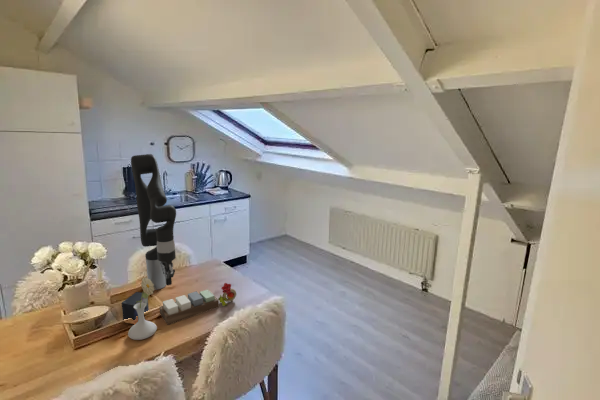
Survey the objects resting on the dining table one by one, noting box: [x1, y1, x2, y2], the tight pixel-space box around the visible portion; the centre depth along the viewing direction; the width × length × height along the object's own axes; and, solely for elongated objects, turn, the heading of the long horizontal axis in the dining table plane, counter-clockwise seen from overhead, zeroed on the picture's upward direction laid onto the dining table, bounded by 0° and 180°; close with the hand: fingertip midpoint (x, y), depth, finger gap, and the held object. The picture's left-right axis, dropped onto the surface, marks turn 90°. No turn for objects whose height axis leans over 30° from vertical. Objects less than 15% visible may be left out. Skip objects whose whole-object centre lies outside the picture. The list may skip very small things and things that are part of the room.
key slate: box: [187, 291, 203, 307], centre depth 164 cm, size 8×4×4 cm, turn 39°
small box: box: [121, 291, 150, 321], centre depth 156 cm, size 11×6×10 cm, turn 168°
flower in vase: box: [127, 277, 158, 341], centre depth 143 cm, size 13×11×25 cm
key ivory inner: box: [175, 294, 191, 311], centre depth 161 cm, size 8×4×4 cm, turn 39°
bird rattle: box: [217, 282, 237, 307], centre depth 170 cm, size 6×11×9 cm
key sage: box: [199, 289, 216, 303], centre depth 168 cm, size 8×4×4 cm, turn 39°
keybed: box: [159, 296, 220, 326], centre depth 163 cm, size 11×25×4 cm, turn 129°
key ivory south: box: [162, 298, 178, 316], centre depth 157 cm, size 8×4×4 cm, turn 39°
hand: (168, 284), depth 154 cm, fingers closed
